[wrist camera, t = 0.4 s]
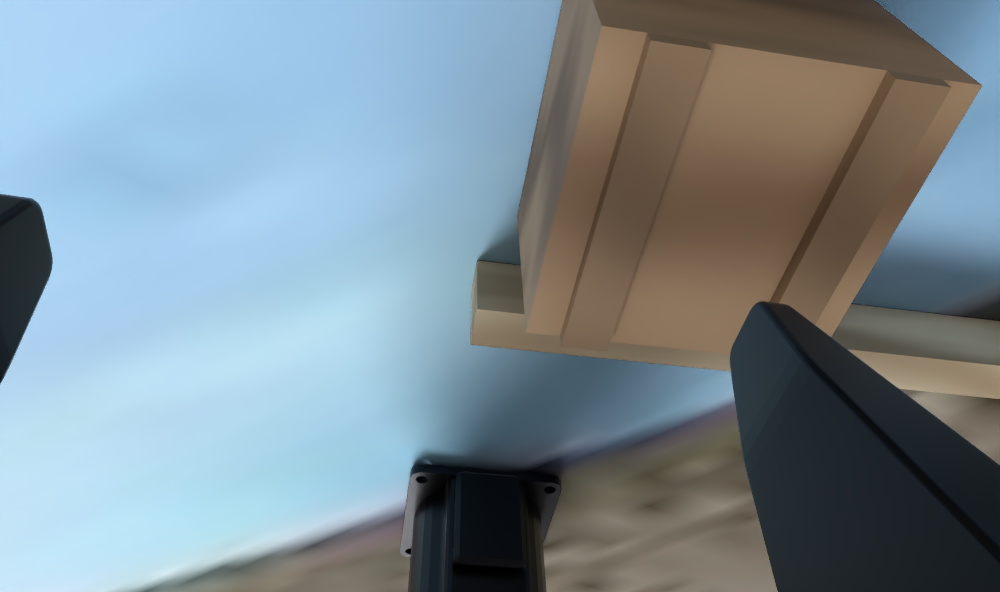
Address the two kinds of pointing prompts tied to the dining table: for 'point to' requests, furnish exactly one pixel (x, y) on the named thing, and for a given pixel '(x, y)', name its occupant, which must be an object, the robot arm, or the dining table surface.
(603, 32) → the crate
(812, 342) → the robot arm
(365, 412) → the dining table surface
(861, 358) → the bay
